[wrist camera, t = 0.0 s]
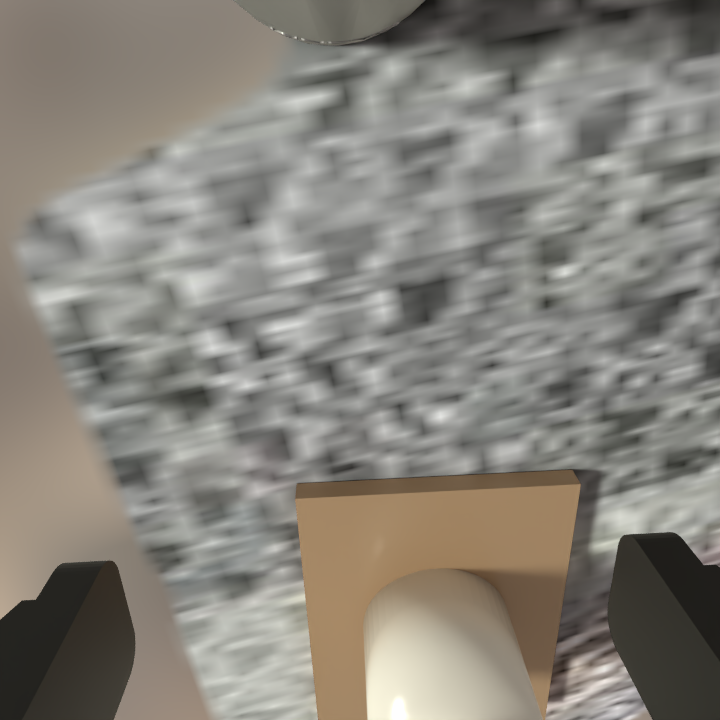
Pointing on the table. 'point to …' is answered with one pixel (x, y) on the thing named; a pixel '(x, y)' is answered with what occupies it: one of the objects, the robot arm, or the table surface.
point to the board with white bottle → (436, 593)
